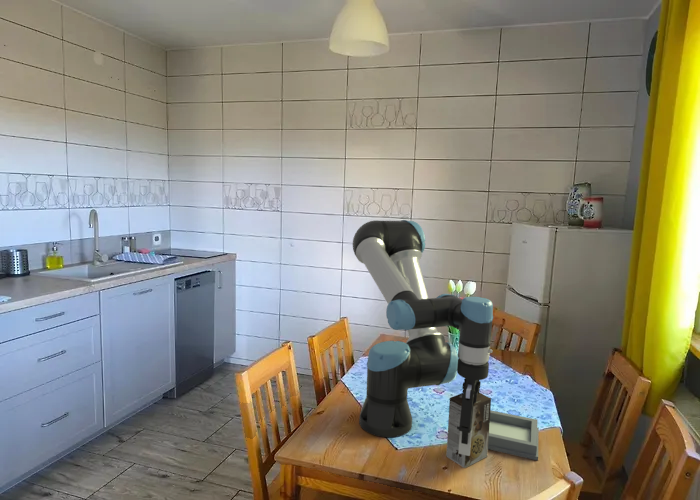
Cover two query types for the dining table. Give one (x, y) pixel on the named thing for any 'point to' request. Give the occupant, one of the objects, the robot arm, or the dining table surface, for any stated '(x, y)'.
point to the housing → (513, 435)
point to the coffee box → (478, 429)
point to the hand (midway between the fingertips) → (467, 442)
